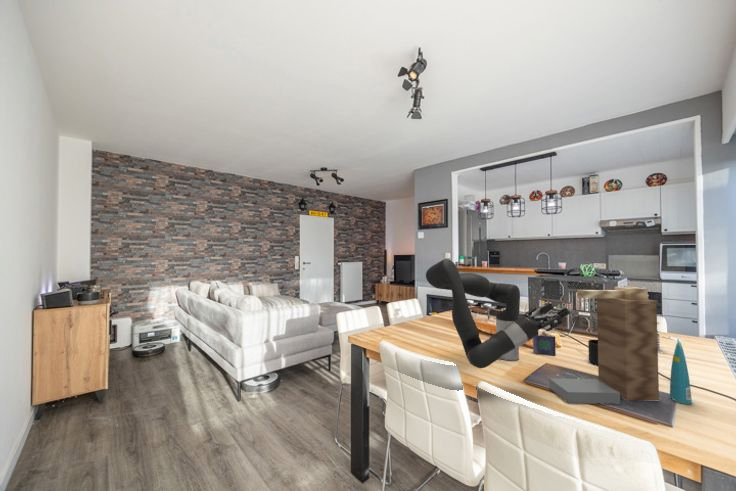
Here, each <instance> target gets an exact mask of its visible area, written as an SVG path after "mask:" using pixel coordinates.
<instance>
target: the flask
mask: <svg viewBox="0 0 736 491" xmlns="http://www.w3.org/2000/svg"><path fill="white" fill-rule="evenodd" d="M541 332H542V333H541V334H540V333H539V334H538V336H536V337H534V338H533V339H532V350H533V351H532V353H533V354H535V355H542V356H550V357H551V356H553V357H556V354H557V352H556V335H553V334H551V333H550V334H548V333H546V330H542V331H541Z"/></svg>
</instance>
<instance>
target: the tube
mask: <svg viewBox="0 0 736 491" xmlns="http://www.w3.org/2000/svg"><path fill="white" fill-rule="evenodd" d="M670 397H671V398H673V399H675V400H676V401H677V402H676V401H675V402H676V403H678V404H684V405H690V404H692V403H693V400H692V399H693V398H692V391H691V382H690V375H689V370H688V364H687V360H686V355H685V352H684V347H683V345H682V342H681V341H680V340H679V338H678V337H677V338H676V345H675V347H674V352H673V355H672V360H671V368H670V381H669V398H670ZM671 398H670V399H671Z"/></svg>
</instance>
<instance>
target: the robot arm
mask: <svg viewBox="0 0 736 491" xmlns="http://www.w3.org/2000/svg"><path fill="white" fill-rule="evenodd" d="M425 279H426V281H427V282H428V284H429V285H431V286H432V287H434V288H436V289H439V290H448V291H451V295H452V297H451V298H452V306H451V317H452V322H453V326H454V328H455V330H456V332H457V334H458V337H459V338H460V340H461V343H462V347H463V350H464V353H465V356H466V358H467V361H468V362H469V364H470V365H471V366H473V367H475V368H478V369H484V368H487V367H488V366H491V365H492V364H493V363H495V362H496V361H497V360H499V359H501V360H505V361H518V360H519V359H520V352H519V350H520V347H521V346H523V345H525V344H526V343H528V342H530V341H531V340H533V338H534V337H536V336H538V334H540V333H539V330H541V329H544V331H545V332H549V331H551V330H553V329H555V328H557V327H559V326H560V325H562V324H563V323H564V322H563V320H562V319H563V318H565V317H566V316H568V315H569V314H570V311H569V309H568V308H567V307H563V308H562V309H559V310H558V311H557V312H555V313H552V314H549V312H550V311H552V310H554V306H553V304H552V303H550V302H549V303H546V304H545V305H543V306H542V307H538V308H537V307H533V308H532V309H530V310H528V311H527V312H525V313H524V314H522V316H520V307H521V305H520V304H521V291H520V288H519V286H517V285H516V284H512V283H511V284H510V283H498V282H493V281H492V282H490V280H489V279H488V278H487V277H485V276H483V275H481V274H477V273H474V272H473V273H472V272H465V273H463V272H462V273H460V272H459V270H458V267H457V265H456V264H455V263H454V261H452V260H451V259H450V258H444V259H441V261H438V262H437V263H435V264H433V265H432V266H430V267H429V268H427V270H426V272H425ZM466 295H470V296H473V297H477V298H486V299H489V300H491V301H493V302H496V303H498V304H503V305H506V306H505V309H504V310H499V311H496V313H495V329H496V330H495V333H494V334H492V335H491V336H490V337H489V338H488V339H486V340H485V341H483V342H482V340H481V338H480V332H479V329H478V327H477V324H476V322H475V320H474V318H473V315H472V312H471V310H470V307H469V304H468V300H467V297H466ZM519 316H520V317H519Z"/></svg>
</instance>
